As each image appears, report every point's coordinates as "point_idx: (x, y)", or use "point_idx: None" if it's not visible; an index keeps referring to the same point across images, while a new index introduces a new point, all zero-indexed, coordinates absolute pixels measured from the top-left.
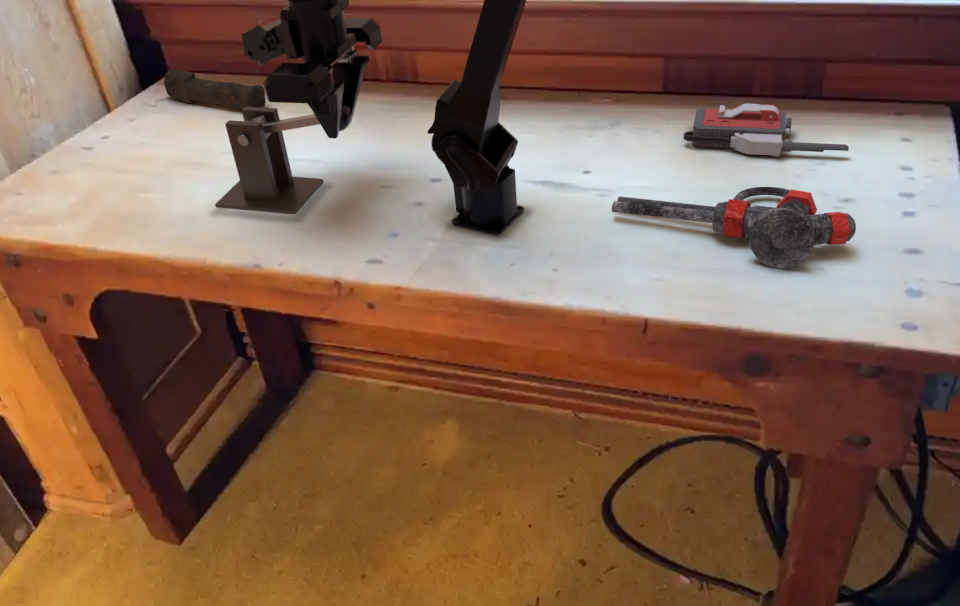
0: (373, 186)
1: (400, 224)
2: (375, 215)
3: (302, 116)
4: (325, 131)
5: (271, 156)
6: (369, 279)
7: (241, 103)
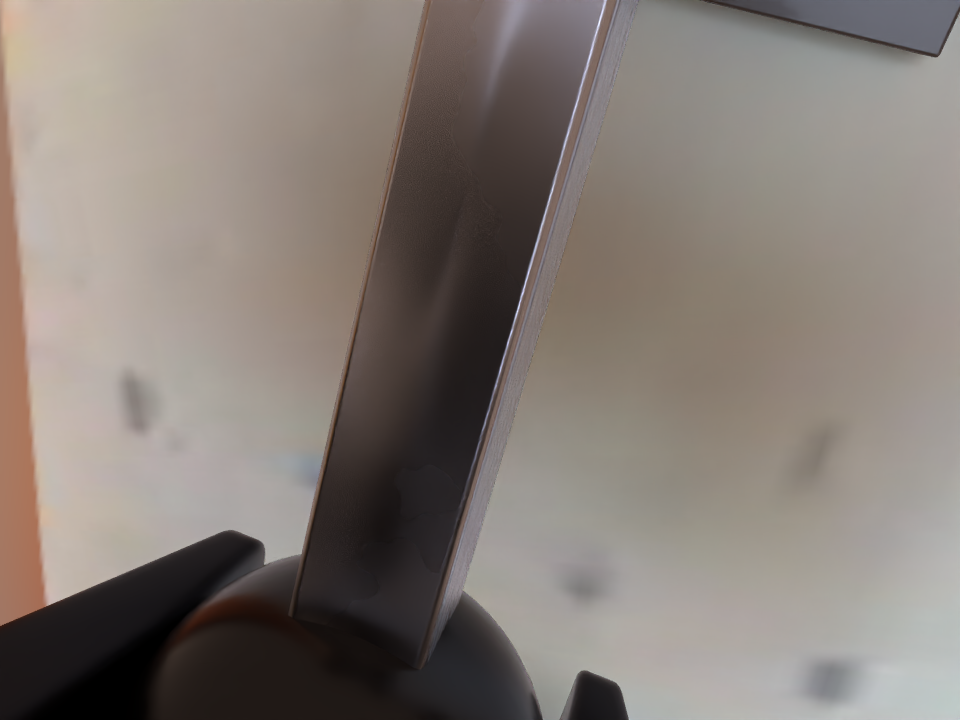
0: (842, 387)
1: None
2: None
3: (495, 274)
4: (154, 566)
5: None
6: (35, 388)
7: None
